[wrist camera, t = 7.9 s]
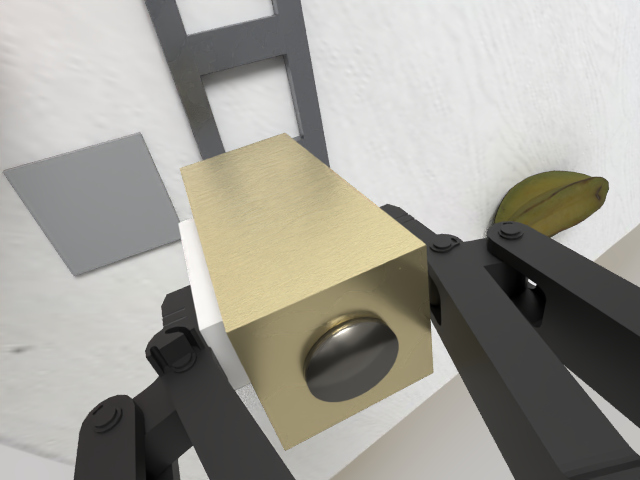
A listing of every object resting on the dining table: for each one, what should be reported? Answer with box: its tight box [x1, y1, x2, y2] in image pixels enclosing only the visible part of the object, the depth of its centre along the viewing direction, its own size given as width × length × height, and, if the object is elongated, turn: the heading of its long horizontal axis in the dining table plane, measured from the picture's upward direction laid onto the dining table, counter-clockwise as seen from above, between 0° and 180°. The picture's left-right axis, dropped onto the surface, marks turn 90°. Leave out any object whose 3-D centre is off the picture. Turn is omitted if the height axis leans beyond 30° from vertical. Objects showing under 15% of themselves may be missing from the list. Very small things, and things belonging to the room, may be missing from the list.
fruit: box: [494, 171, 609, 238], centre depth 45 cm, size 11×12×7 cm
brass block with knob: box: [180, 133, 433, 451], centre depth 14 cm, size 5×5×11 cm
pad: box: [3, 132, 181, 276], centre depth 29 cm, size 9×9×1 cm
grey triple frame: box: [145, 0, 330, 168], centre depth 30 cm, size 10×28×1 cm, turn 11°
